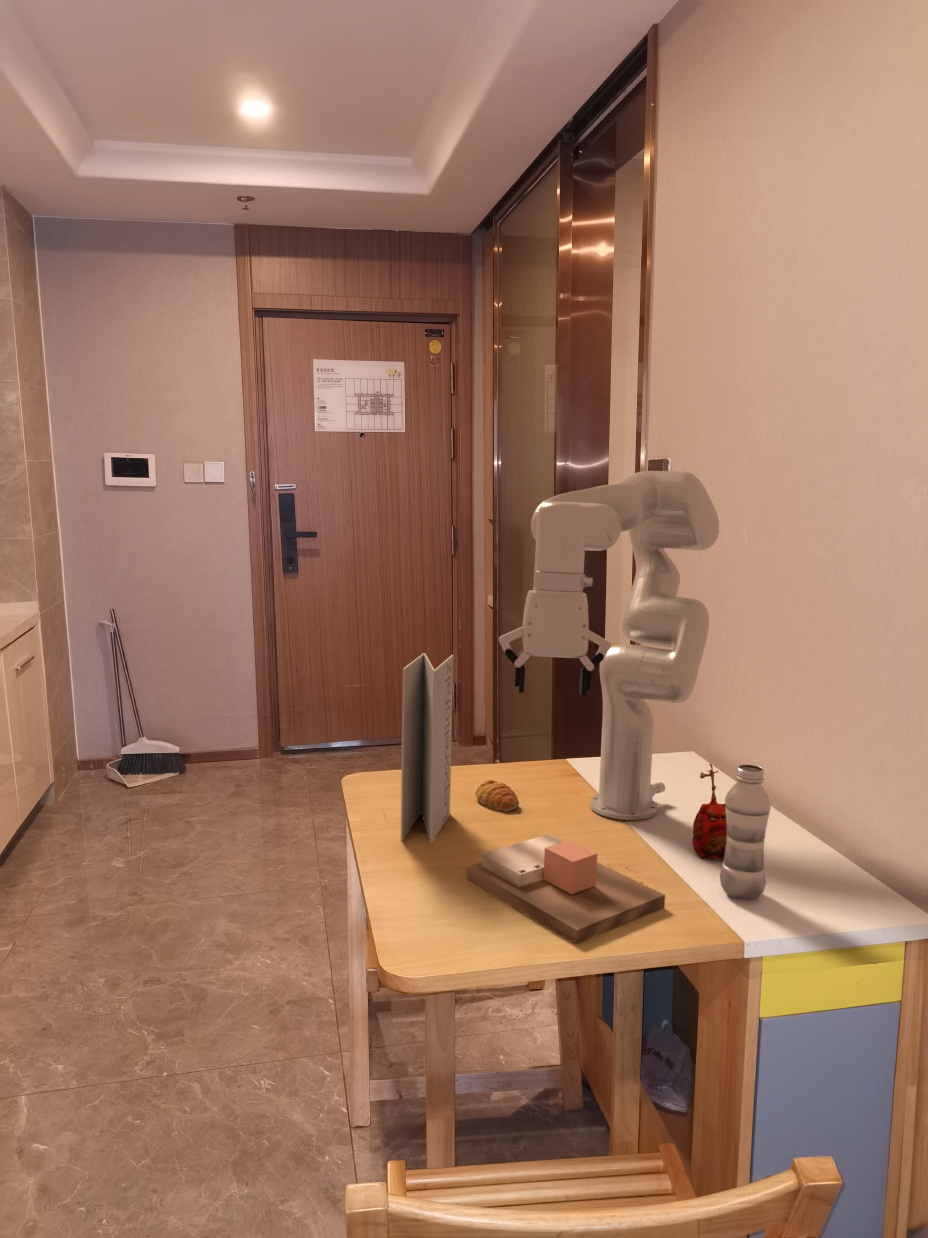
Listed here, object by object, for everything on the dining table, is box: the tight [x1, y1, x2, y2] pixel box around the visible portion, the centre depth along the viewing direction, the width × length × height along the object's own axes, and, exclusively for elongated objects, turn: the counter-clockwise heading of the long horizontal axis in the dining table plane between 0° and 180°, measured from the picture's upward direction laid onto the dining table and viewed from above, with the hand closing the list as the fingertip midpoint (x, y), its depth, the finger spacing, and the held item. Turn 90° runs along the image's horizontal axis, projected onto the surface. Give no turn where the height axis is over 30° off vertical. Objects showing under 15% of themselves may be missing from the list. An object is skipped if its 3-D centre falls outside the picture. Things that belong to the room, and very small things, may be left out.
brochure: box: [400, 652, 454, 844], centre depth 158 cm, size 14×6×30 cm, turn 168°
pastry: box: [475, 779, 520, 812], centre depth 172 cm, size 9×7×4 cm
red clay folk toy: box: [691, 763, 727, 861], centre depth 150 cm, size 8×7×15 cm
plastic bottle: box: [719, 763, 772, 900], centre depth 135 cm, size 6×7×20 cm
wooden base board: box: [466, 833, 666, 945], centre depth 135 cm, size 18×24×4 cm
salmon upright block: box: [544, 840, 598, 894], centre depth 134 cm, size 5×6×5 cm
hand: (551, 692), depth 140 cm, fingers open, 9 cm apart
